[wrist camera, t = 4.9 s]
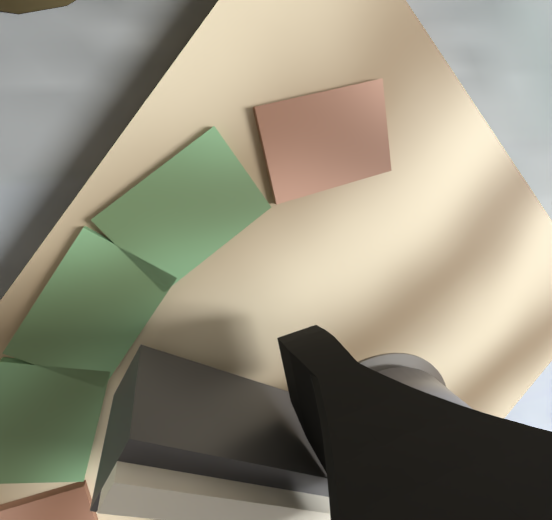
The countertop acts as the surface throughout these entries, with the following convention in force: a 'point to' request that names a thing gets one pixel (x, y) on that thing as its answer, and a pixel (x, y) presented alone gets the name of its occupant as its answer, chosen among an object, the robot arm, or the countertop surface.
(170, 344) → the tuner board
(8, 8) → the cork
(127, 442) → the peg dial
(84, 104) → the countertop surface
